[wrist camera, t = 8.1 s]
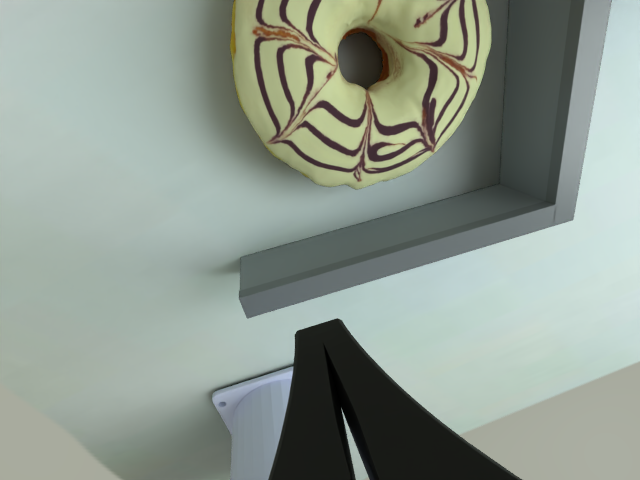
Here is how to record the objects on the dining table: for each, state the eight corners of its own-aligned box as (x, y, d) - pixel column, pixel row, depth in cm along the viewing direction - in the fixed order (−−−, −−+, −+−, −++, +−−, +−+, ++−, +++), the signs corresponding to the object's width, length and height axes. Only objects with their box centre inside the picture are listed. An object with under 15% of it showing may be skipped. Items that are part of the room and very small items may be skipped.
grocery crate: (514, 196, 20) (573, 220, 17) (246, 273, 19) (247, 318, 15) (550, -266, 12) (685, -421, 8) (70, -194, 10) (-26, -348, 7)
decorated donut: (421, 182, 19) (459, 203, 15) (229, 164, 16) (225, 185, 13) (482, -44, 15) (552, -82, 11) (236, -118, 12) (233, -196, 9)
